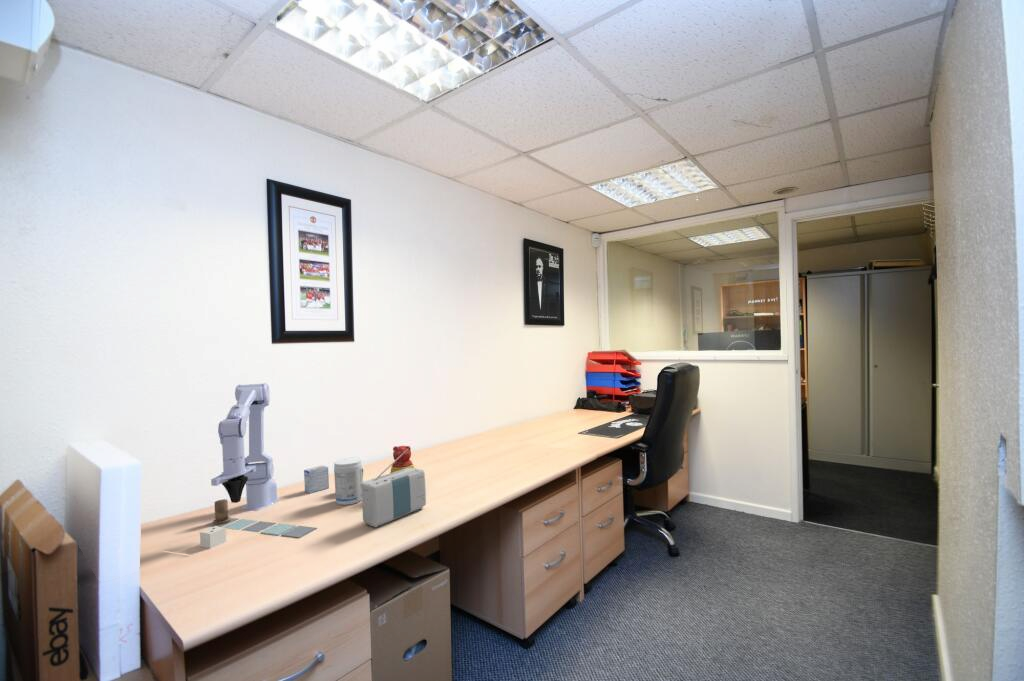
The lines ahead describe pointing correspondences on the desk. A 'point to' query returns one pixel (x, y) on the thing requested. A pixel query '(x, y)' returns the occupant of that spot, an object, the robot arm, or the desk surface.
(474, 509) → the desk surface
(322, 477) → the medicine box
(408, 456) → the stacking bear
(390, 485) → the stereo radio cassette player
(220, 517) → the pawn
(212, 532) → the die
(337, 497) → the supplement tub
